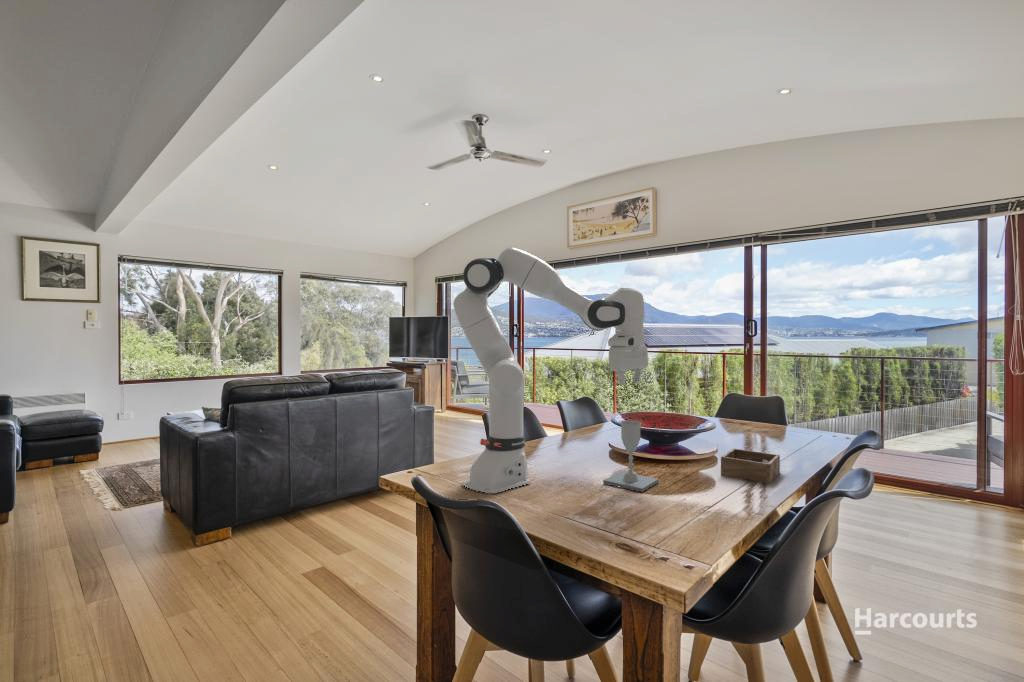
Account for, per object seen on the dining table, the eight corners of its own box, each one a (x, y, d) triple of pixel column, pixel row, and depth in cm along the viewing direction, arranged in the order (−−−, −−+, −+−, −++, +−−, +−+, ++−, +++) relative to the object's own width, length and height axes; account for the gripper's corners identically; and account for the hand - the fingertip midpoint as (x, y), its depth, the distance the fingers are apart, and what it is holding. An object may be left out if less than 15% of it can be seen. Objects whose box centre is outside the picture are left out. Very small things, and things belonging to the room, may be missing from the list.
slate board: (642, 492, 144) (642, 488, 144) (603, 483, 152) (603, 480, 152) (658, 482, 153) (658, 478, 153) (621, 474, 161) (621, 471, 161)
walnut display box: (769, 483, 151) (769, 464, 151) (720, 474, 161) (720, 456, 161) (779, 472, 163) (779, 455, 163) (733, 465, 172) (733, 448, 172)
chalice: (641, 483, 148) (641, 425, 148) (618, 481, 150) (618, 423, 150) (642, 477, 155) (642, 420, 154) (621, 475, 157) (620, 419, 157)
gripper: (635, 339, 162) (635, 380, 163) (605, 340, 147) (604, 386, 147) (653, 339, 158) (653, 381, 159) (624, 340, 143) (623, 387, 143)
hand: (629, 383), depth 153 cm, fingers open, 8 cm apart
